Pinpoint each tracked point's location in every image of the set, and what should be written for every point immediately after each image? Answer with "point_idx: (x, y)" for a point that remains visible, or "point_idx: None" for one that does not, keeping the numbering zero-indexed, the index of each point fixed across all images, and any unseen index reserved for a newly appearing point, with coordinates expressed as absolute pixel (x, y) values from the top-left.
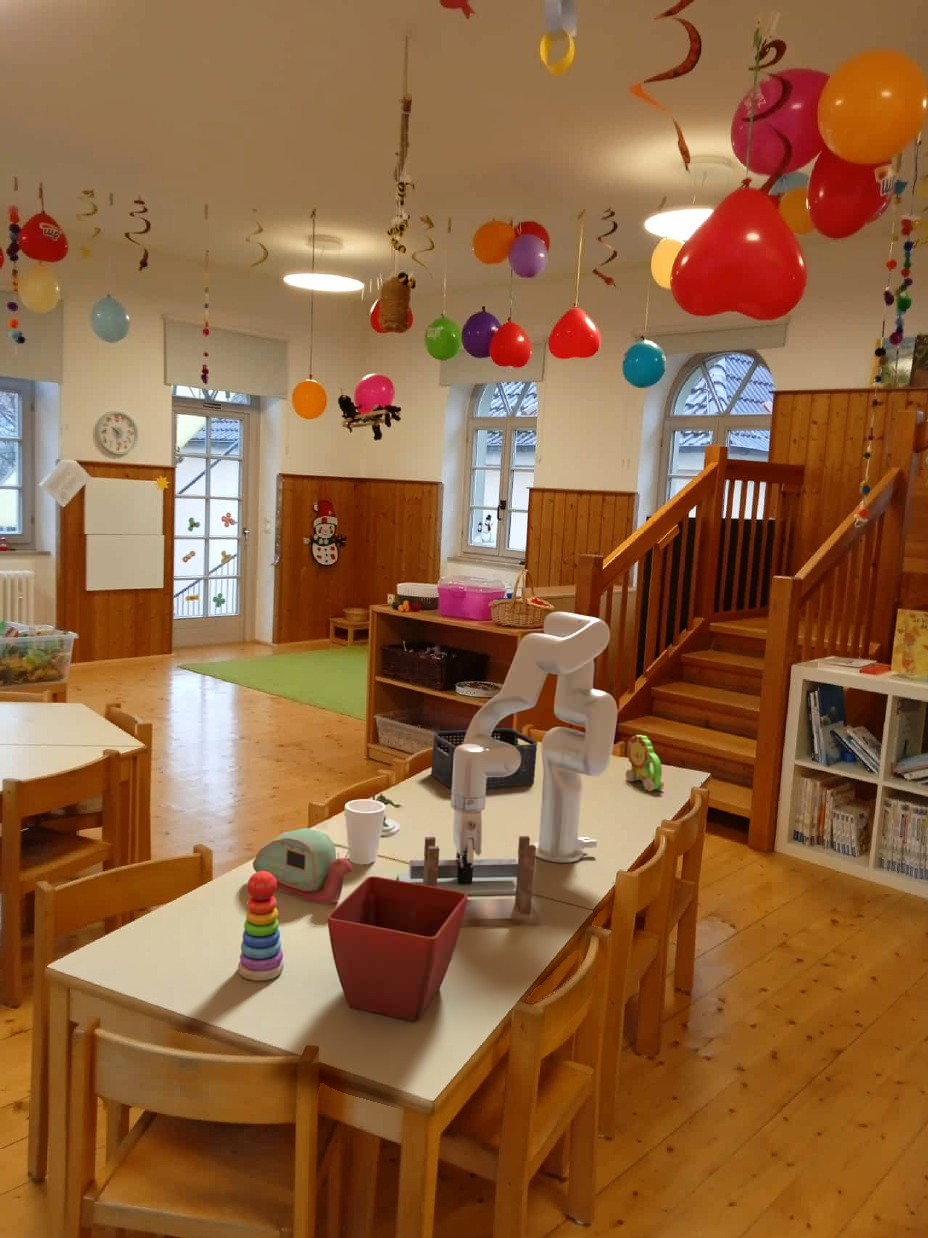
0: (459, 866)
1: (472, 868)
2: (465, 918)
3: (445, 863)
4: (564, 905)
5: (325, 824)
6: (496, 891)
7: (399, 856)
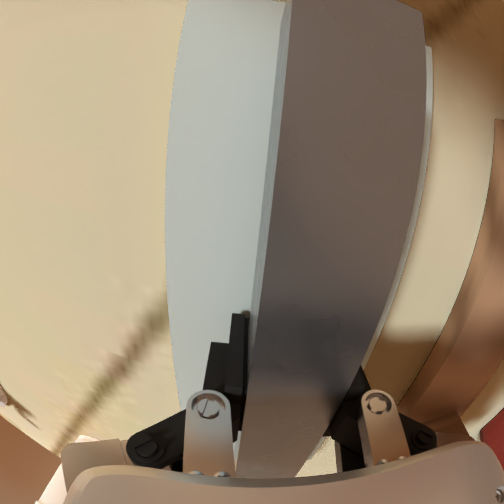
0: (330, 434)
1: (362, 380)
2: (501, 358)
3: (281, 466)
4: (486, 13)
5: (5, 417)
6: (419, 207)
7: (61, 402)
